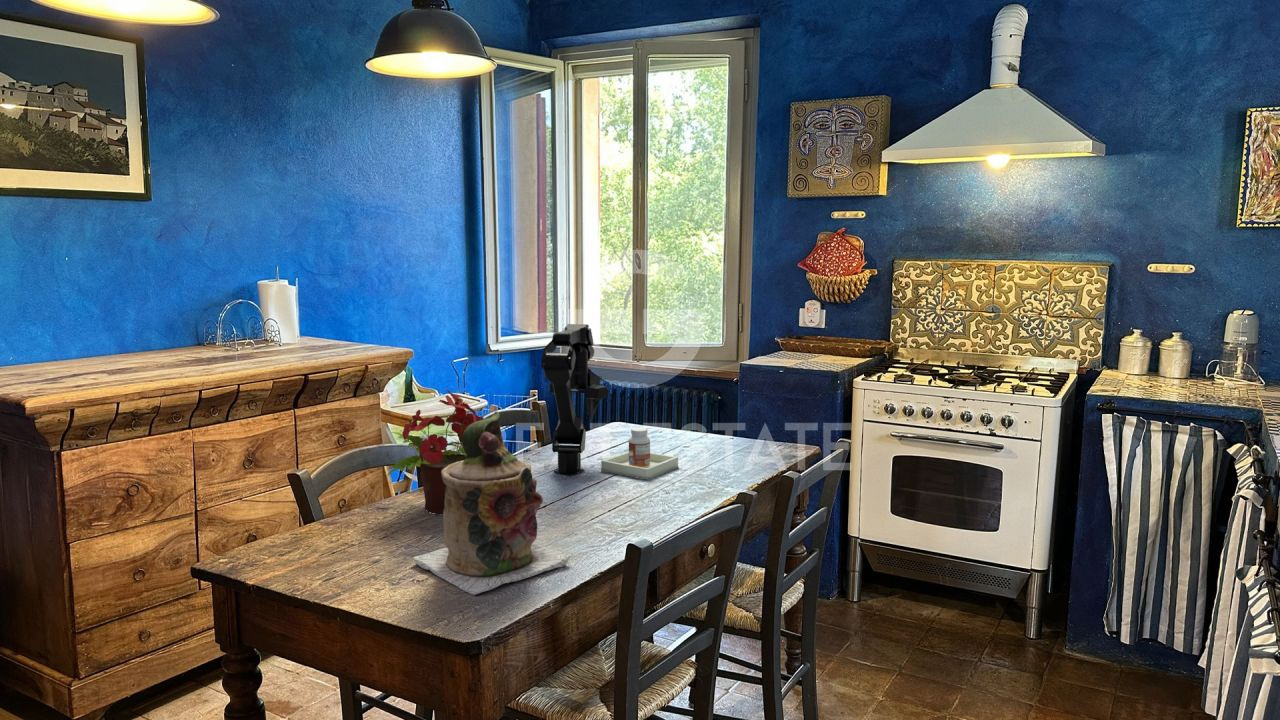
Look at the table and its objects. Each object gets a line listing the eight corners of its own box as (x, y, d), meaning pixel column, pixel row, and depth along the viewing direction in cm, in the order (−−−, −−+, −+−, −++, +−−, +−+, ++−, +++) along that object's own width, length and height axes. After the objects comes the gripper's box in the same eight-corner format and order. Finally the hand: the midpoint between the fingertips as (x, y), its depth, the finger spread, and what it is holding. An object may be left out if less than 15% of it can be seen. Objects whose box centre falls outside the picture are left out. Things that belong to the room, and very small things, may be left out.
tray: (647, 479, 247) (647, 469, 247) (601, 471, 256) (601, 460, 256) (678, 467, 260) (678, 457, 260) (633, 459, 269) (633, 449, 269)
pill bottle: (628, 463, 261) (627, 426, 259) (648, 463, 261) (648, 426, 260) (629, 469, 255) (629, 431, 253) (651, 468, 255) (651, 431, 253)
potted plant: (479, 526, 209) (475, 400, 205) (373, 519, 214) (367, 396, 210) (520, 490, 238) (518, 379, 233) (426, 484, 243) (422, 376, 238)
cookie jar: (408, 564, 185) (402, 414, 181) (504, 536, 203) (501, 398, 198) (476, 599, 168) (471, 434, 163) (575, 565, 185) (573, 414, 181)
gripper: (619, 365, 265) (620, 416, 267) (571, 360, 276) (572, 409, 278) (596, 370, 256) (597, 423, 258) (547, 364, 267) (548, 415, 269)
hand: (578, 417), depth 266 cm, fingers open, 9 cm apart
